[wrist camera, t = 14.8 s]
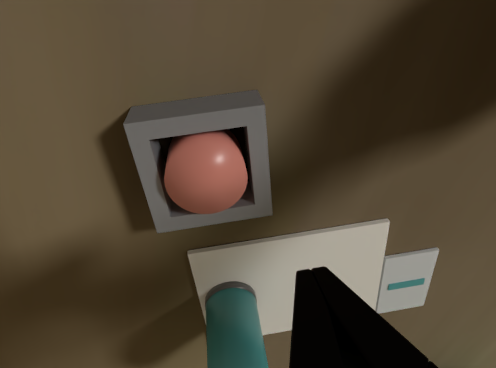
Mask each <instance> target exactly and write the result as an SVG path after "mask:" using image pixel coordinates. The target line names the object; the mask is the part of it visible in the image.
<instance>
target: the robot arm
mask: <svg viewBox="0 0 496 368" xmlns="http://www.w3.org/2000/svg"><path fill="white" fill-rule="evenodd" d="M289 368H438V367H437V366H436V365H435V364H434V363H433V362H431V361H429V360H428V358H427V357H426V356H425V355H424V354H422V353H421V352H420V351H419V350H418V349H417V348H416V347H415V346H414V345H412V344H411V343H410V342H409V341H408V340H407V339H406V338H405V337H404V336H402V335H401V334H400V333H399V332H398V331H397V330H396V329H395V328H394V327H392V326H391V325H390V324H389V323H388V322H387V321H386V320H385V319H384V318H382V317H381V316H380V315H379V314H378V313H377V312H376V311H375V310H374V309H372V308H371V307H370V306H369V305H368V304H367V303H366V302H365V301H364V300H362V299H361V298H360V297H359V296H358V295H357V294H356V293H355V292H354V291H352V290H351V289H350V288H349V287H348V286H347V285H346V284H345V283H344V282H342V281H341V280H340V279H339V278H338V277H337V276H336V275H335V274H334V273H332V272H331V271H330V270H329V269H328V268H327V267H324V266H322V267H316V268H312V269H311V270H310V269H304V270H298V271H297V272H296V279H295V293H294V307H293V321H292V335H291V349H290V363H289Z"/></svg>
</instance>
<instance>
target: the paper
mask: <svg viewBox="0 0 496 368" xmlns="http://www.w3.org/2000/svg"><path fill="white" fill-rule="evenodd" d="M389 224H390V221H389V220H388V218H387V219H380V220H374V221H368V222H362V223H356V224H349V225H343V226H337V227H331V228H325V229H319V230H312V231H306V232H300V233H294V234H288V235H281V236H275V237H269V238H263V239H257V240H250V241H244V242H238V243H232V244H226V245H219V246H213V247H207V248H201V249H195V250H188V254H187V255H188V258H189V262H190V266H191V270H192V274H193V277H194V281H195V285H196V289H197V293H198V296H199V300H200V304H201V308H202V312H203V316H204V319H205V323H206V310H205V297H206V295H207V293H208V292H209V291H210V290H211V289H212V288H213V287H215V286H216V285H218V284H221V283H224V282H230V281H238V282H243V283H245V284H248V285H249V286H251V287H252V288H253V290H254V291H255V294H256V299H257V308H258V314H259V319H260V325H261V330H262V335H266V334H272V333H278V332H283V331H289V330H292V321H293V307H294V293H295V279H296V272H297V271H298V270H304V269H310V270H311V269H312V268H316V267H322V266H324V267H327V268H328V269H329V270H330V271H331V272H332V273H334V274H335V275H336V276H337V277H338V278H339V279H340V280H341V281H342V282H344V283H345V284H346V285H347V286H348V287H349V288H350V289H351V290H352V291H354V292H355V293H356V294H357V295H358V296H359V297H360V298H361V299H362V300H364V301H365V302H366V303H367V304H368V305H369V306H370V307H371V308H372V309H374V310H375V308H376V302H377V296H378V290H379V284H380V278H381V272H382V266H383V260H384V254H385V248H386V242H387V236H388V230H389Z"/></svg>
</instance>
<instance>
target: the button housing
mask: <svg viewBox="0 0 496 368" xmlns="http://www.w3.org/2000/svg"><path fill="white" fill-rule="evenodd" d="M123 125H124V129H125V132H126V135H127V138H128V141H129V144H130V148H131V151H132V154H133V157H134V160H135V164H136V167H137V170H138V173H139V176H140V180H141V183H142V186H143V189H144V192H145V195H146V199H147V202H148V205H149V208H150V211H151V215H152V218H153V221H154V224H155V227H156V231H157V233H163V232H169V231H175V230H182V229H188V228H195V227H201V226H207V225H214V224H220V223H226V222H233V221H239V220H245V219H252V218H258V217H264V216H271V215H273V213H272V199H271V185H270V170H269V156H268V142H267V128H266V114H265V104H264V102H263V100H262V98H261V96H260V94H259V92H258V90H252V91H244V92H237V93H230V94H222V95H215V96H207V97H200V98H193V99H185V100H178V101H170V102H163V103H156V104H148V105H141V106H134V107H131V108H130V111H129V113H128V115H127V117H126V119H125V121H124V124H123ZM237 127H243V128H244V137H245V146H246V155H247V165H248V174H249V182H248V183H247V186H246V189H245V191H244V193H243V195H242V197H241V198H240V199H239V200H238V201H237V202H236V203H235V204H234V205H233V206H231V207H229V208H228V209H226V210H224V211H221V212H218V213H213V214H198V213H193V212H190V211H187V210H185V209H183V208H181V207H180V206H178V205H177V204H176V203H175V202H174V201H173V200H172V199H171V198H170V196H169V195H168V193H167V191H166V188H165V183H164V175H165V168H166V166H165V162H164V158H163V154H162V150H161V146H160V143H159V138H166V137H173V136H181V135H188V134H195V133H202V132H209V131H216V130H223V129H230V128H237Z"/></svg>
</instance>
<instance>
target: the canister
mask: <svg viewBox="0 0 496 368" xmlns="http://www.w3.org/2000/svg"><path fill="white" fill-rule="evenodd" d="M205 310H206V333H207V365H208V368H268V363H267V357H266V352H265V346H264V341H263V336H262V330H261V325H260V319H259V314H258V308H257V299H256V294H255V291H254V290H253V288H252V287H251V286H249V285H248V284H245V283H243V282H238V281H230V282H224V283H221V284H218V285H216V286H215V287H213V288H212V289H211V290H210V291H209V292H208V293H207V295H206V297H205Z"/></svg>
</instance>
